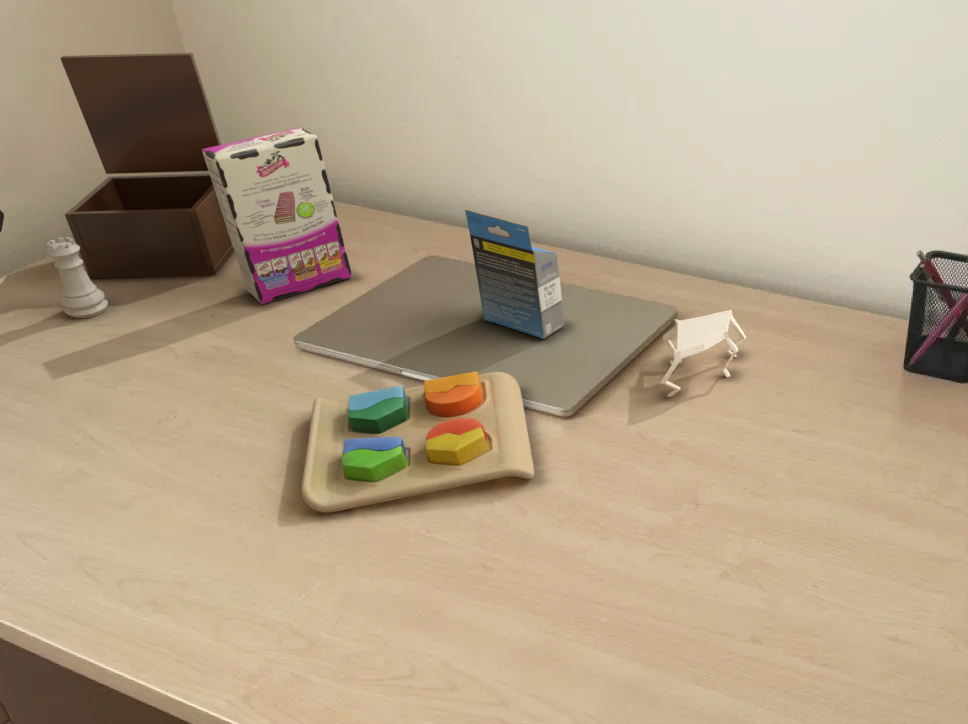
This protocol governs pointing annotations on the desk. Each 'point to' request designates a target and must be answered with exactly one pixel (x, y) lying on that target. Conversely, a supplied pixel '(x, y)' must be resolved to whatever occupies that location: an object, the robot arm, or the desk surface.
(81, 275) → the rook chess piece
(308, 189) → the candy bar box
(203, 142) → the compartment lid
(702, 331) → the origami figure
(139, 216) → the compartment
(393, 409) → the puzzle board
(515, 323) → the tape cartridge
